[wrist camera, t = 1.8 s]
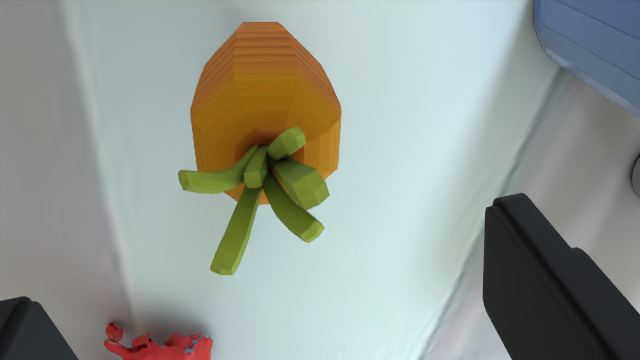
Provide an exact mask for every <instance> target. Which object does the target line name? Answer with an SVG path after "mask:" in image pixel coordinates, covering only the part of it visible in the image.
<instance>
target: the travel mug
mask: <svg viewBox="0 0 640 360" xmlns="http://www.w3.org/2000/svg"><path fill="white" fill-rule="evenodd" d="M632 185H633V188H634V191H635V193H636V194H637V195H638V196H639V197H640V157H639V158H638V160H637V162H636V164H635V167H634V169H633V175H632Z"/></svg>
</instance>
